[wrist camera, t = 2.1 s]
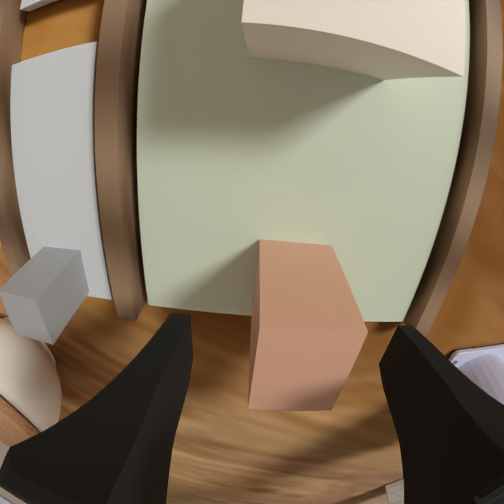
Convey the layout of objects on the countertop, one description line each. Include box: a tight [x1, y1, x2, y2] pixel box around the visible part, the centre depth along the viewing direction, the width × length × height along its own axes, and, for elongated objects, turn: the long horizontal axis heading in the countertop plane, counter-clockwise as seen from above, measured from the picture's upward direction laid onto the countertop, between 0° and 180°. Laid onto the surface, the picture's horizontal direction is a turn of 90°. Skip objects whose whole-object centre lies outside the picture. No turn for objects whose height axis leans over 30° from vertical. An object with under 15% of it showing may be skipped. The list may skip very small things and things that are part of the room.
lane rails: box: [0, 0, 502, 337], centre depth 10 cm, size 21×23×2 cm
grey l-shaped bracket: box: [0, 41, 113, 345], centre depth 10 cm, size 12×5×5 cm, turn 175°
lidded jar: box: [0, 317, 62, 447], centre depth 14 cm, size 11×11×9 cm
